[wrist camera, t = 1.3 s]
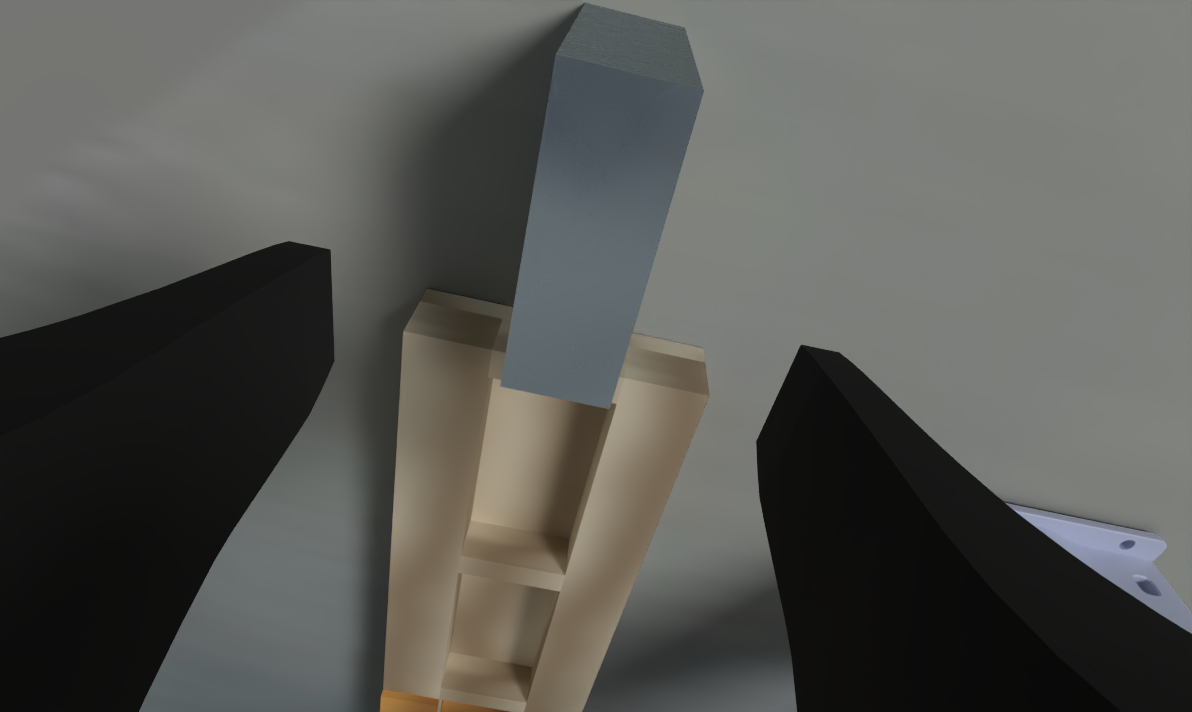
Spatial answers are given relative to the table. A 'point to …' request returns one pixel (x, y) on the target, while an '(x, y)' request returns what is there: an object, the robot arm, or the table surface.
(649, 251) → the brushed gray metal block
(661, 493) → the rack
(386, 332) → the table surface
